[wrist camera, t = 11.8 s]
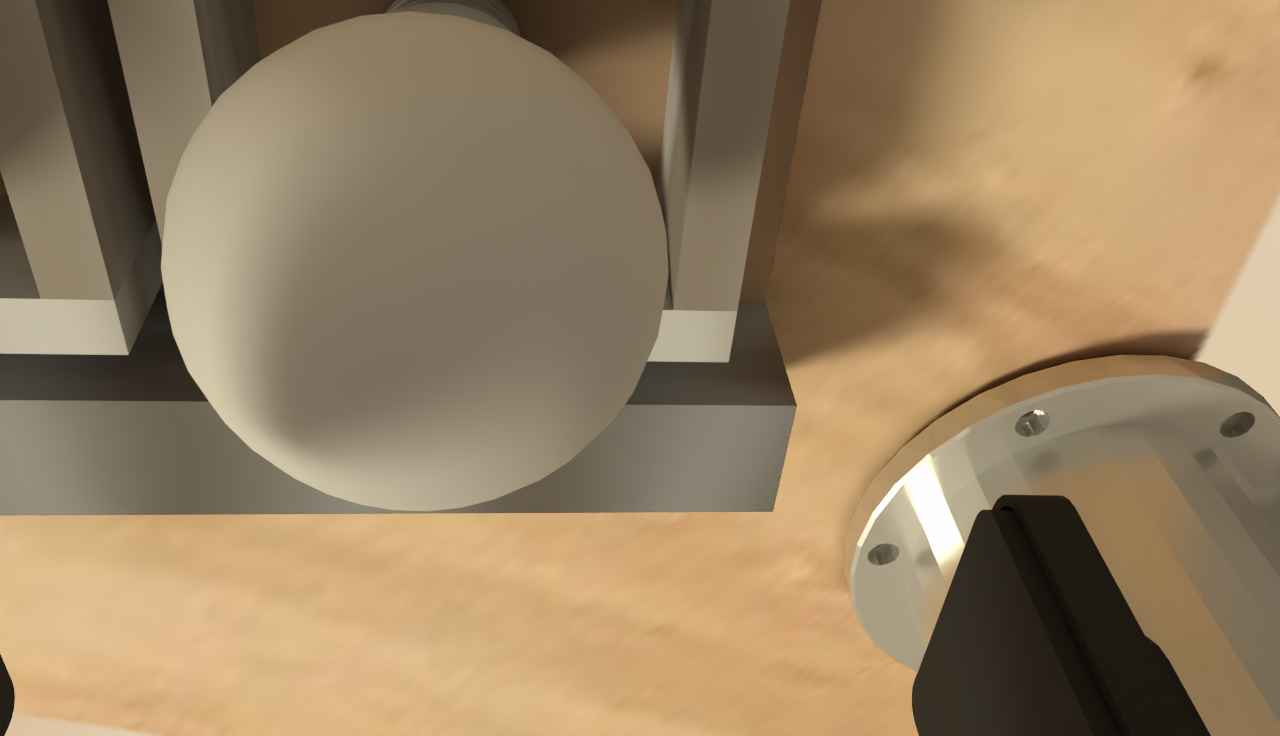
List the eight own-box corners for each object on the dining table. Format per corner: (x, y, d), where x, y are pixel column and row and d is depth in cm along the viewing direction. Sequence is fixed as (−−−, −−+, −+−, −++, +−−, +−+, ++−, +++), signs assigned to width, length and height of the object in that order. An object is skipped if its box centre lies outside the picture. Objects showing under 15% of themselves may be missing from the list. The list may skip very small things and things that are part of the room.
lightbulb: (685, -14, 20) (816, 353, 11) (508, 229, 22) (504, 671, 14) (381, -231, 17) (246, 26, 8) (225, 74, 20) (4, 499, 11)
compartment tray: (870, -334, 17) (1141, -214, 10) (740, 383, 27) (828, 732, 19) (-841, -492, 15) (-2337, -494, 7) (-324, 372, 24) (-723, 779, 16)
